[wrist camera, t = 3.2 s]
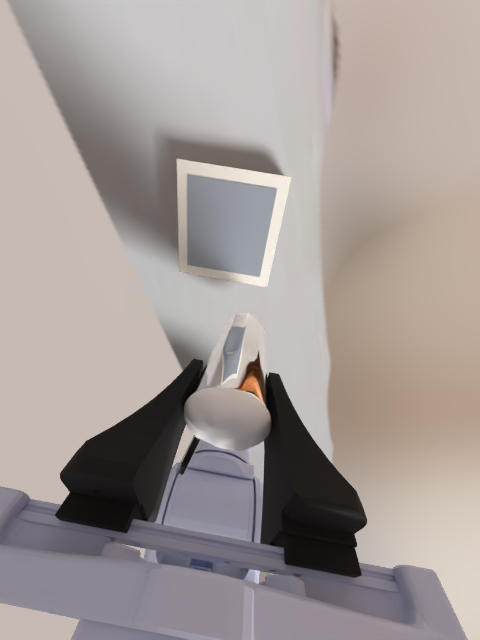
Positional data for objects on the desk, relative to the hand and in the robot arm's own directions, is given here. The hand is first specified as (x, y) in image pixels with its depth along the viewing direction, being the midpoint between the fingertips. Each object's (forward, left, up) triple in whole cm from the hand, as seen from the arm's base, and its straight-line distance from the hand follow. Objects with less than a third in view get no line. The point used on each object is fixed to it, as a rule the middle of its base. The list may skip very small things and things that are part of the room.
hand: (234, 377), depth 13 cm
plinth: (+8, +2, -10) cm, 13 cm away
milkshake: (+1, 0, -5) cm, 5 cm away
